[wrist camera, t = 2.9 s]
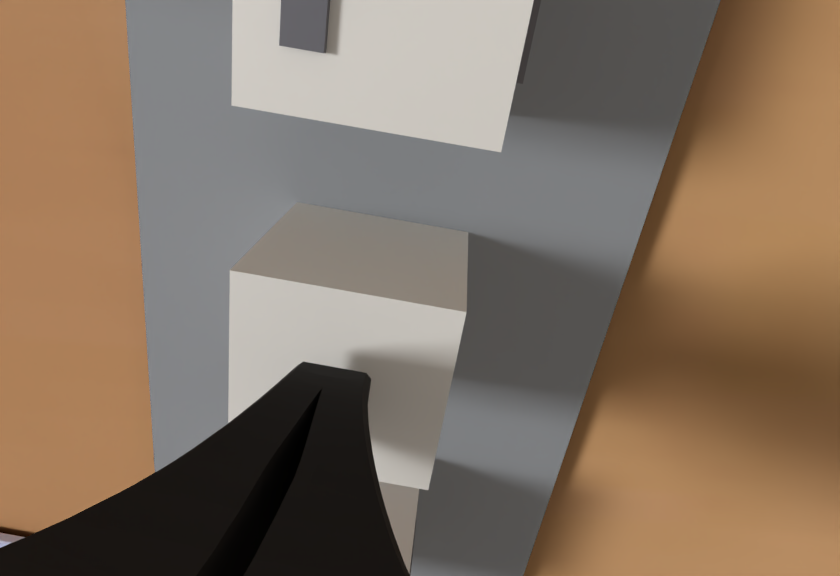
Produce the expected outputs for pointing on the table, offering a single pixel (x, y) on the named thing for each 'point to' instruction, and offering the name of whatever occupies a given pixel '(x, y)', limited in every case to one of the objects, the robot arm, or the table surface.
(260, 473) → the robot arm
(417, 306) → the plain block
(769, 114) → the table surface
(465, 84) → the block
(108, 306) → the table surface
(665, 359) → the table surface
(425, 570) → the slate mat
